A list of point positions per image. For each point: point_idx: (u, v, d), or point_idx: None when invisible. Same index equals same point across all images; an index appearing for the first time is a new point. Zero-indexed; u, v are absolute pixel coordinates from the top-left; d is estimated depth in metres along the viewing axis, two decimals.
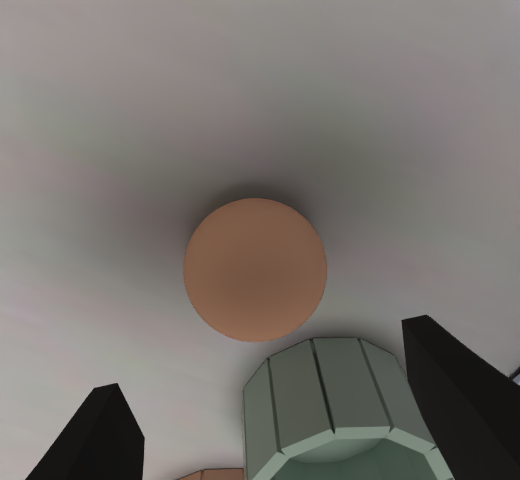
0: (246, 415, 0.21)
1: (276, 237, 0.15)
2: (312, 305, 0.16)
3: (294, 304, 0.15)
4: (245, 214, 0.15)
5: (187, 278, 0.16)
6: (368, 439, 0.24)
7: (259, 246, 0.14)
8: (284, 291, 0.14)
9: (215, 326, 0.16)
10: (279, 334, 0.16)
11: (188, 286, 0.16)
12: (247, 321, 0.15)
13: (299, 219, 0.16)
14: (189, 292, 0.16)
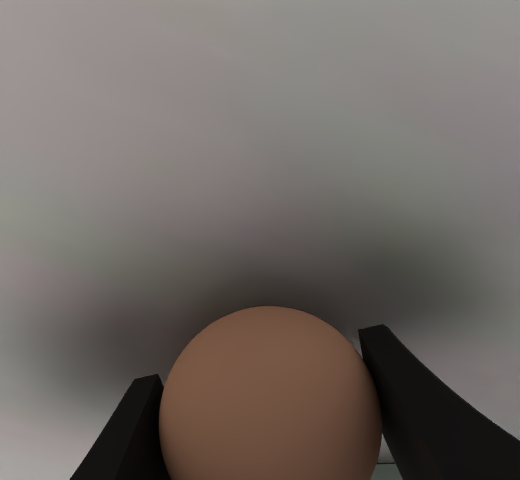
0: None
1: (309, 397, 0.09)
2: None
3: None
4: (256, 353, 0.09)
5: (163, 447, 0.10)
6: None
7: (281, 417, 0.09)
8: None
9: None
10: None
11: (165, 459, 0.10)
12: None
13: (341, 352, 0.10)
14: (167, 468, 0.10)
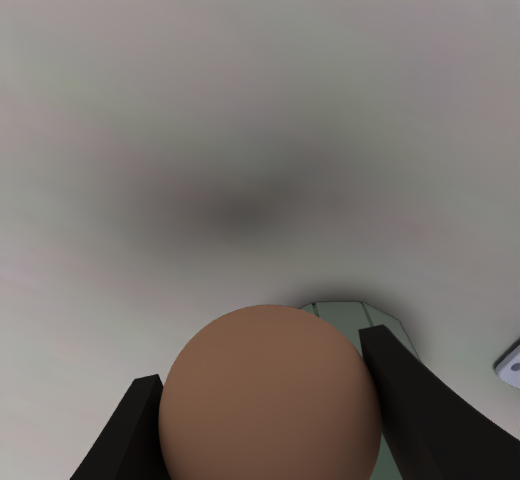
0: None
1: (309, 396, 0.09)
2: None
3: None
4: (255, 352, 0.09)
5: (163, 446, 0.10)
6: None
7: (280, 417, 0.09)
8: None
9: None
10: None
11: (165, 458, 0.10)
12: None
13: (341, 350, 0.10)
14: (166, 466, 0.10)
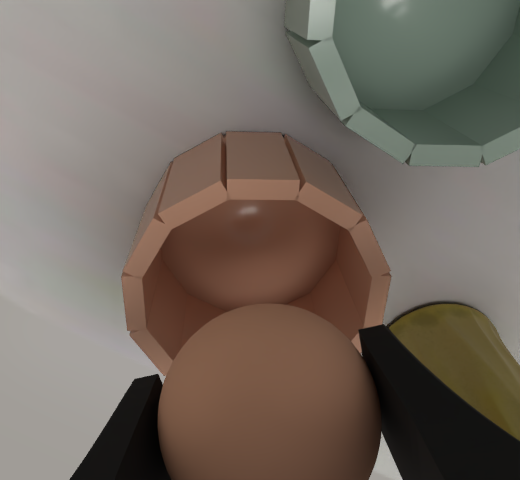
0: None
1: (309, 394, 0.09)
2: None
3: None
4: (256, 350, 0.09)
5: (162, 443, 0.10)
6: (470, 62, 0.16)
7: (281, 415, 0.09)
8: None
9: None
10: None
11: (163, 455, 0.10)
12: None
13: (341, 350, 0.10)
14: (165, 464, 0.10)
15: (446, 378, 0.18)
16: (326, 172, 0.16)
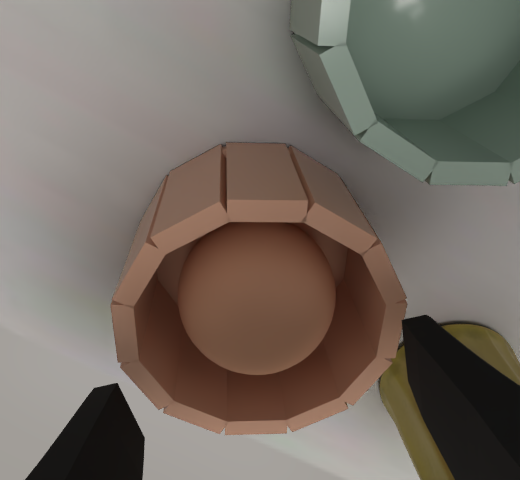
0: None
1: (282, 262, 0.13)
2: (320, 336, 0.14)
3: (301, 336, 0.13)
4: (247, 235, 0.14)
5: (181, 305, 0.14)
6: (491, 68, 0.15)
7: (262, 273, 0.13)
8: (290, 323, 0.13)
9: (212, 358, 0.14)
10: (283, 368, 0.14)
11: (183, 314, 0.14)
12: (248, 355, 0.13)
13: (306, 240, 0.14)
14: (184, 320, 0.14)
15: None
16: (335, 188, 0.15)
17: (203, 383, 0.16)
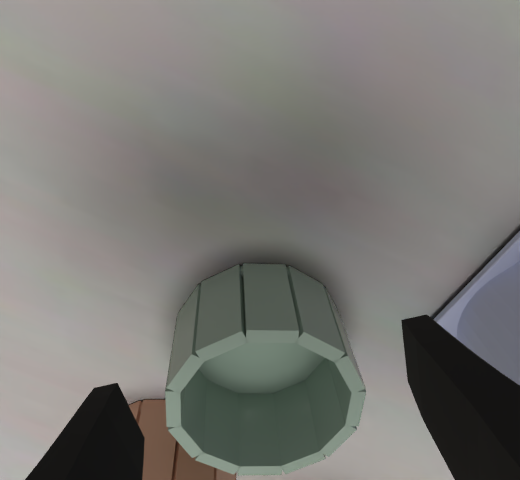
0: (175, 334, 0.22)
1: None
2: None
3: None
4: None
5: None
6: (300, 370, 0.25)
7: None
8: None
9: None
10: None
11: None
12: None
13: None
14: None
15: None
16: None
17: None
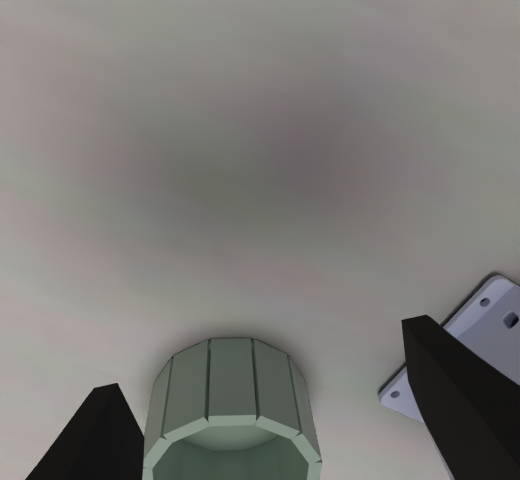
0: (150, 407, 0.24)
1: None
2: None
3: None
4: None
5: None
6: None
7: None
8: None
9: None
10: None
11: None
12: None
13: None
14: None
15: None
16: None
17: None
